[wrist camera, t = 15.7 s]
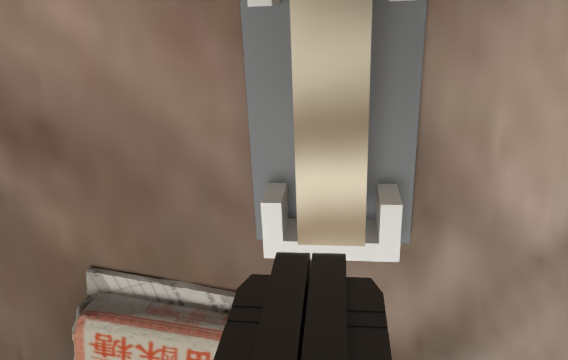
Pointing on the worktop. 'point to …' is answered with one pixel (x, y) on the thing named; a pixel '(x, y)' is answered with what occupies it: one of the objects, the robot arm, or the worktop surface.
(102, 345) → the packaged product
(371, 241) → the board
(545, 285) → the worktop surface
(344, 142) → the slat
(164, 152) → the worktop surface
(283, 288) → the robot arm
